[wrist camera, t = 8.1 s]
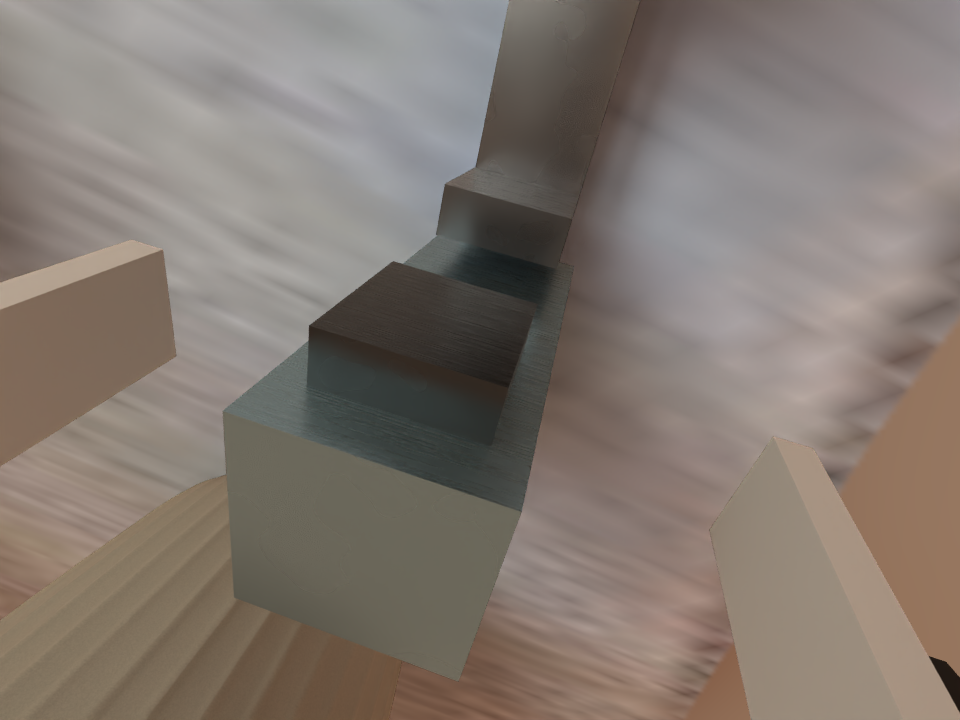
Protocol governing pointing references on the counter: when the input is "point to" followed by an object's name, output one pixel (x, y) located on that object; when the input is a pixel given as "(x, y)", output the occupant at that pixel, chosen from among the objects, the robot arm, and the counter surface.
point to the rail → (539, 127)
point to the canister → (178, 637)
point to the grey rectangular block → (397, 453)
